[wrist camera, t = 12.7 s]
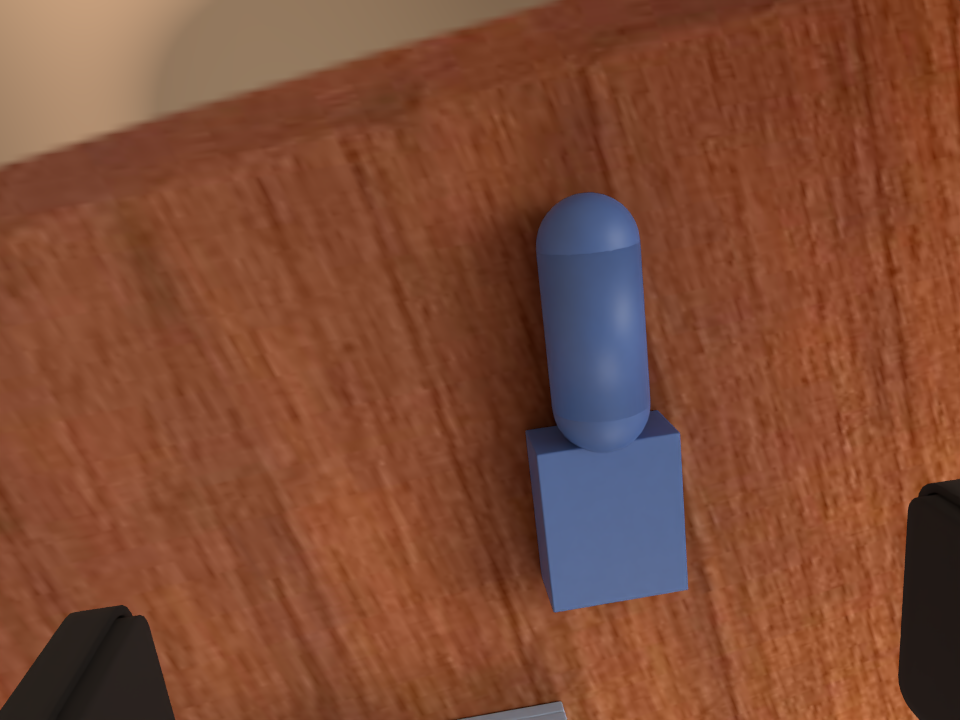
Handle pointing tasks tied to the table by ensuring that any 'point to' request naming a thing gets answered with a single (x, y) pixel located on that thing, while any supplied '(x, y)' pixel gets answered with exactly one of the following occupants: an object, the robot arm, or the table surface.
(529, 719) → the blue tray
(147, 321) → the table surface
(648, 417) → the blue stamp block
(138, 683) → the robot arm
